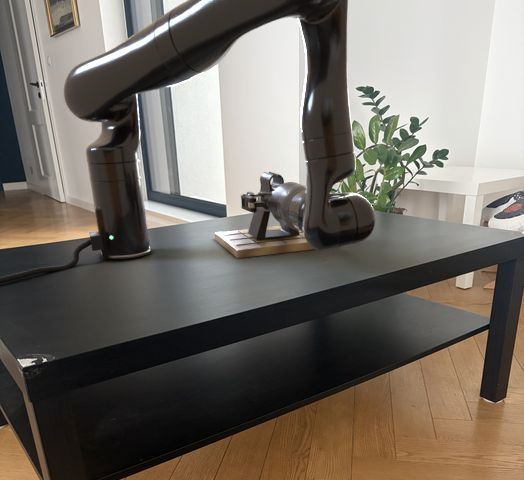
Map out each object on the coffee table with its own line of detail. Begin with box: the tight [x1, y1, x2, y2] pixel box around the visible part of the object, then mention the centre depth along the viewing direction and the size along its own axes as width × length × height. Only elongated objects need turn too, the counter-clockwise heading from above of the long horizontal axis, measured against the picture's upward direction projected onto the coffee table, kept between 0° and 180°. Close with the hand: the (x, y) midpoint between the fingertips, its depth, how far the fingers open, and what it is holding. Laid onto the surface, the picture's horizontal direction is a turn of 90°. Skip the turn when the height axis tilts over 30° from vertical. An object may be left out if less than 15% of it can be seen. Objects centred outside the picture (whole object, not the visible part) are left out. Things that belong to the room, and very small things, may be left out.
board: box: [214, 225, 315, 259], centre depth 111 cm, size 20×18×2 cm
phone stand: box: [248, 171, 299, 240], centre depth 108 cm, size 9×6×12 cm, turn 107°
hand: (268, 195), depth 110 cm, fingers open, 8 cm apart
